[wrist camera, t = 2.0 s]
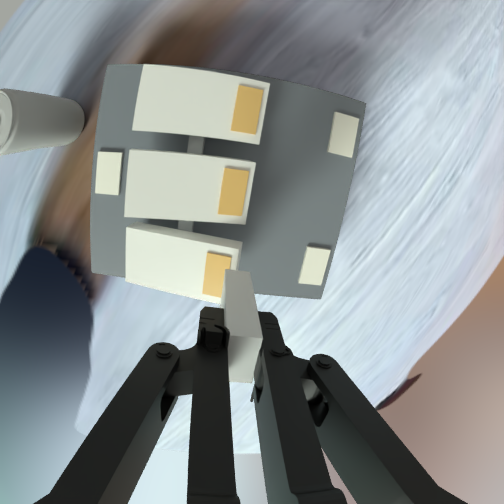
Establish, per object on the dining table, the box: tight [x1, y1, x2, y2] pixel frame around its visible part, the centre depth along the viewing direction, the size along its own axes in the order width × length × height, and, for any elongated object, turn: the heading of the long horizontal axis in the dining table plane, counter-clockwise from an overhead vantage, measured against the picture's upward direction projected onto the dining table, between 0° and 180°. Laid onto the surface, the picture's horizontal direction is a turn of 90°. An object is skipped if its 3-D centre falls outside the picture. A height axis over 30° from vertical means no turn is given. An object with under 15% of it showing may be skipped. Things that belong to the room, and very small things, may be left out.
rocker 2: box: [124, 149, 256, 225], centre depth 19 cm, size 8×4×2 cm, turn 78°
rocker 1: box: [132, 64, 270, 145], centre depth 17 cm, size 8×4×2 cm, turn 78°
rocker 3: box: [126, 222, 243, 304], centre depth 21 cm, size 8×4×2 cm, turn 81°
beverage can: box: [0, 89, 85, 156], centre depth 18 cm, size 5×5×12 cm
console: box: [90, 64, 366, 299], centre depth 24 cm, size 20×17×7 cm
